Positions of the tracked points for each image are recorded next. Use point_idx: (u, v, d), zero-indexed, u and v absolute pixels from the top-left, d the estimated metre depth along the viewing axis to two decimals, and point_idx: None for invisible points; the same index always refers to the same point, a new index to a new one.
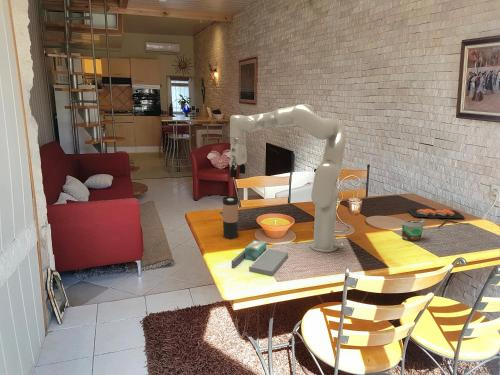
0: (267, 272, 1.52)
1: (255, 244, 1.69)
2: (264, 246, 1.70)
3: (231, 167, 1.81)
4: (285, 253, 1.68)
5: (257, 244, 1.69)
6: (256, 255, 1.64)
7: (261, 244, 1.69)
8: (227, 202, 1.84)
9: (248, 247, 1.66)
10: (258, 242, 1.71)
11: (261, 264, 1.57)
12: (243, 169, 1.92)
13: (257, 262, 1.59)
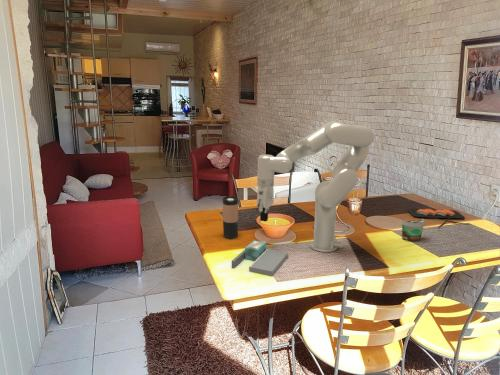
0: (267, 272, 1.52)
1: (255, 244, 1.69)
2: (264, 246, 1.70)
3: (262, 211, 1.73)
4: (285, 253, 1.68)
5: (257, 244, 1.69)
6: (256, 255, 1.64)
7: (261, 244, 1.69)
8: (227, 202, 1.84)
9: (248, 247, 1.66)
10: (258, 242, 1.71)
11: (261, 264, 1.57)
12: None
13: (257, 262, 1.59)
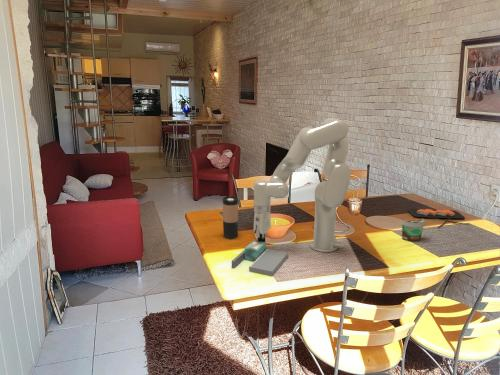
0: (267, 272, 1.52)
1: (255, 244, 1.68)
2: (264, 246, 1.70)
3: (259, 237, 1.72)
4: (285, 253, 1.68)
5: (257, 244, 1.68)
6: (256, 255, 1.63)
7: (260, 244, 1.69)
8: (227, 202, 1.84)
9: (248, 247, 1.65)
10: (258, 242, 1.71)
11: (261, 264, 1.57)
12: (263, 241, 1.75)
13: (257, 262, 1.59)
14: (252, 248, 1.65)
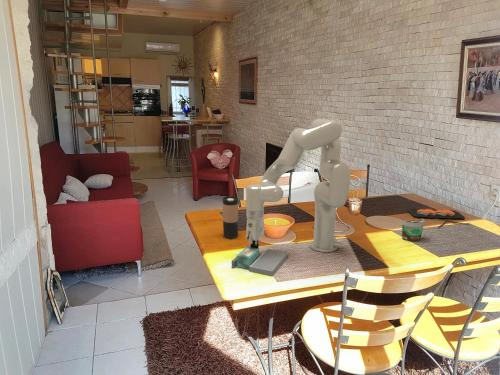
0: (267, 272, 1.52)
1: (247, 251, 1.61)
2: (257, 253, 1.63)
3: (252, 243, 1.65)
4: (285, 253, 1.68)
5: (250, 251, 1.61)
6: (248, 263, 1.56)
7: (253, 251, 1.62)
8: (227, 202, 1.84)
9: (240, 255, 1.58)
10: (250, 249, 1.63)
11: (261, 264, 1.57)
12: None
13: (257, 262, 1.59)
14: (244, 255, 1.57)
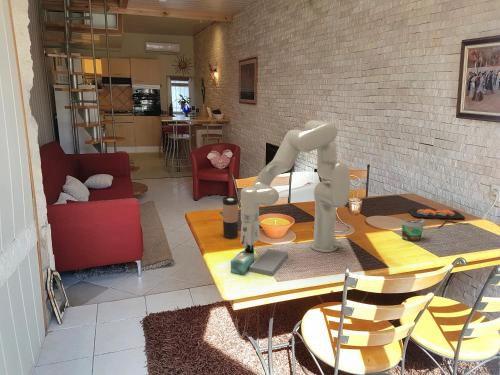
0: (267, 272, 1.52)
1: (242, 256, 1.56)
2: (252, 258, 1.58)
3: (246, 248, 1.60)
4: (285, 253, 1.68)
5: (244, 256, 1.56)
6: (242, 269, 1.51)
7: (248, 256, 1.57)
8: (227, 202, 1.84)
9: (234, 260, 1.53)
10: (245, 254, 1.59)
11: (261, 264, 1.57)
12: (251, 252, 1.63)
13: (257, 262, 1.59)
14: (239, 260, 1.53)
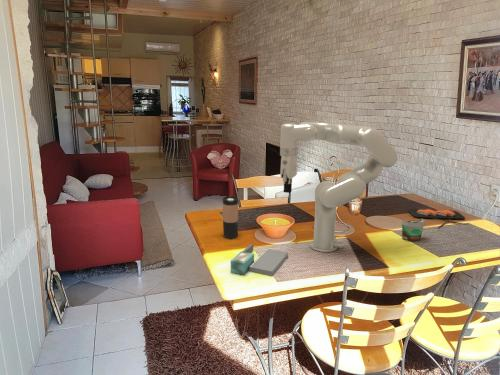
0: (267, 272, 1.52)
1: (242, 256, 1.56)
2: (251, 258, 1.58)
3: (285, 182, 1.68)
4: (285, 253, 1.68)
5: (244, 256, 1.56)
6: (242, 269, 1.51)
7: (248, 256, 1.57)
8: (227, 202, 1.84)
9: (234, 260, 1.53)
10: (245, 254, 1.59)
11: (261, 264, 1.57)
12: None
13: (257, 262, 1.59)
14: (239, 260, 1.53)
